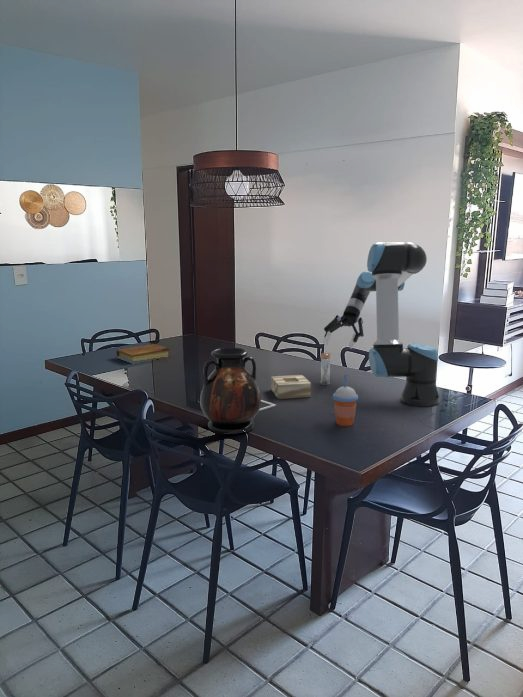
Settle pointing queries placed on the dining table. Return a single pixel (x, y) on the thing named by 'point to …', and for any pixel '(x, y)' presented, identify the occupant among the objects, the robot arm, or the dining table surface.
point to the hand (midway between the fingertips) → (337, 345)
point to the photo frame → (267, 406)
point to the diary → (143, 352)
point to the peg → (325, 368)
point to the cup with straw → (345, 405)
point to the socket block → (290, 386)
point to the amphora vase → (230, 392)
